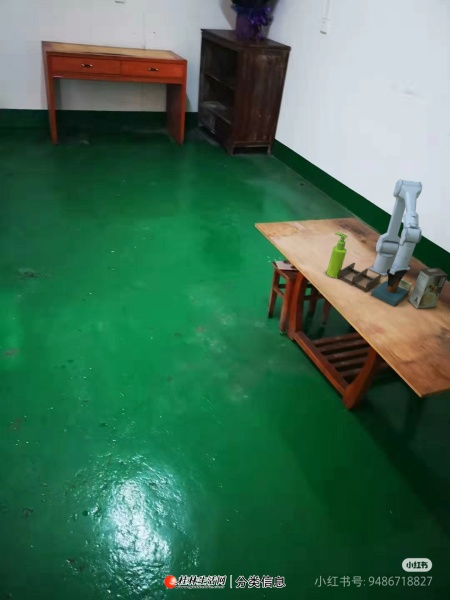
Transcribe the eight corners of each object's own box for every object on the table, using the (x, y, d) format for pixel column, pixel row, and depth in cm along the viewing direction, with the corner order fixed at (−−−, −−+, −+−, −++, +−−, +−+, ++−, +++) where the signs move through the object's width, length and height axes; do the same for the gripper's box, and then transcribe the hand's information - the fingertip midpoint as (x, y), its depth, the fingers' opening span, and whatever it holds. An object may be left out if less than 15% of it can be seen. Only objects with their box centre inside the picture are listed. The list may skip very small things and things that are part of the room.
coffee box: (425, 299, 200) (438, 267, 192) (434, 307, 195) (448, 275, 186) (408, 300, 198) (420, 268, 189) (416, 308, 193) (430, 276, 184)
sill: (385, 284, 207) (389, 273, 204) (408, 295, 202) (412, 283, 198) (370, 295, 198) (374, 283, 195) (394, 306, 192) (398, 294, 189)
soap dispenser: (328, 269, 214) (338, 230, 203) (341, 274, 211) (352, 235, 200) (322, 273, 210) (332, 233, 199) (335, 279, 207) (346, 239, 196)
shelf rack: (351, 269, 216) (353, 262, 214) (379, 282, 208) (381, 275, 206) (337, 278, 208) (339, 270, 206) (365, 292, 200) (368, 284, 198)
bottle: (389, 286, 201) (394, 272, 197) (397, 290, 199) (403, 276, 195) (384, 289, 198) (389, 275, 194) (393, 294, 196) (398, 279, 192)
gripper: (405, 264, 182) (395, 292, 190) (420, 254, 192) (409, 281, 199) (389, 257, 186) (379, 285, 193) (404, 247, 195) (394, 274, 203)
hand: (393, 283), depth 197 cm, fingers open, 7 cm apart
